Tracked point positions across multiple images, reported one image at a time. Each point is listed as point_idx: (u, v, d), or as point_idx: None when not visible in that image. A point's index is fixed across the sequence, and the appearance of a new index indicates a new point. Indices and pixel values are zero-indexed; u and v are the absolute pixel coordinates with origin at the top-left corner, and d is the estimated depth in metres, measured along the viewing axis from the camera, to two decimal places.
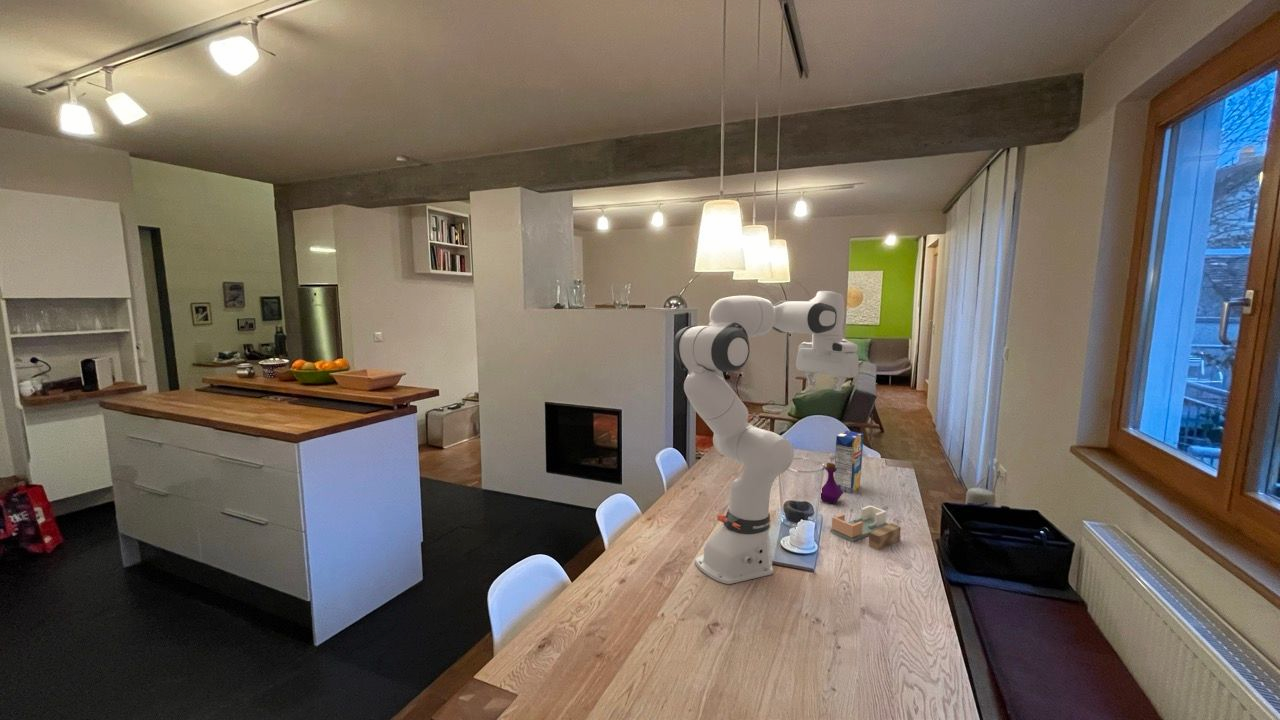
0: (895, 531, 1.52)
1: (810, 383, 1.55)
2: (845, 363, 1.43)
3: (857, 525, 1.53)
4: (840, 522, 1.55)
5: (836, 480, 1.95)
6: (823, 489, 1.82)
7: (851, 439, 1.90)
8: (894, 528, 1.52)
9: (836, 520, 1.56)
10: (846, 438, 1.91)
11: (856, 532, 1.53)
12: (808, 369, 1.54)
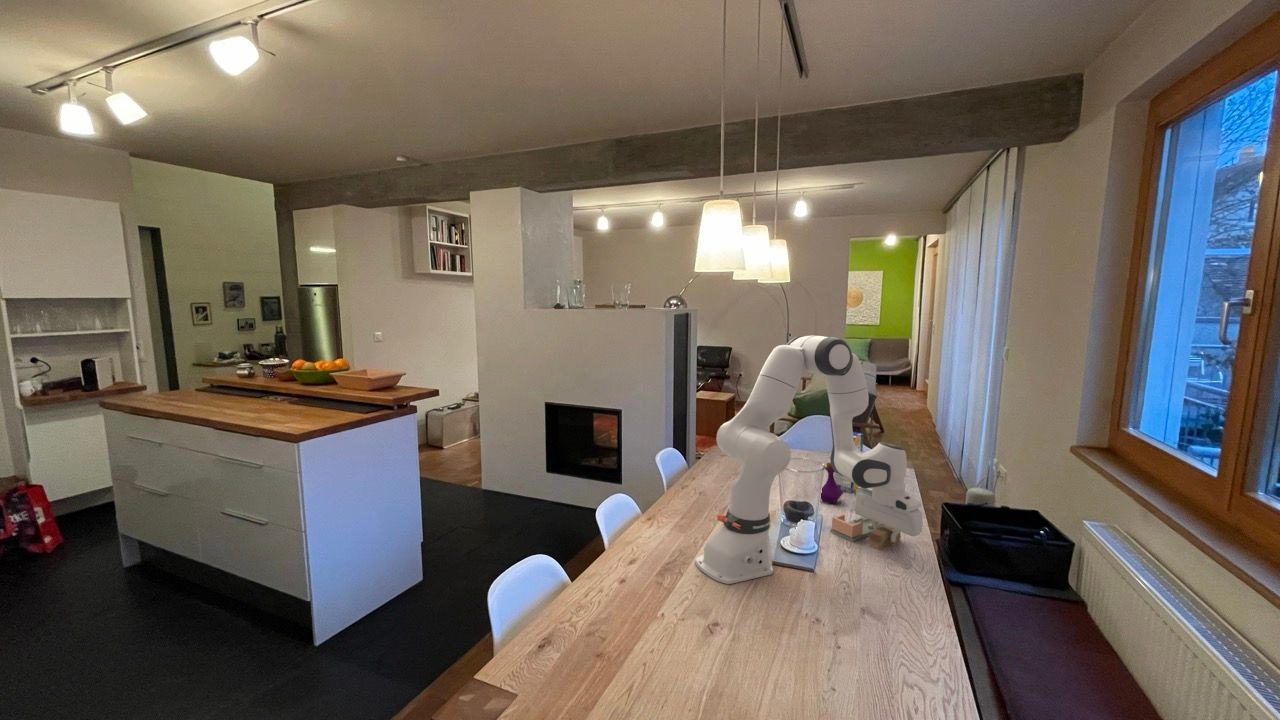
0: None
1: None
2: (909, 522, 1.43)
3: (857, 525, 1.53)
4: (840, 522, 1.55)
5: (836, 480, 1.95)
6: (823, 489, 1.82)
7: None
8: None
9: (836, 520, 1.56)
10: None
11: (856, 532, 1.53)
12: (867, 516, 1.54)
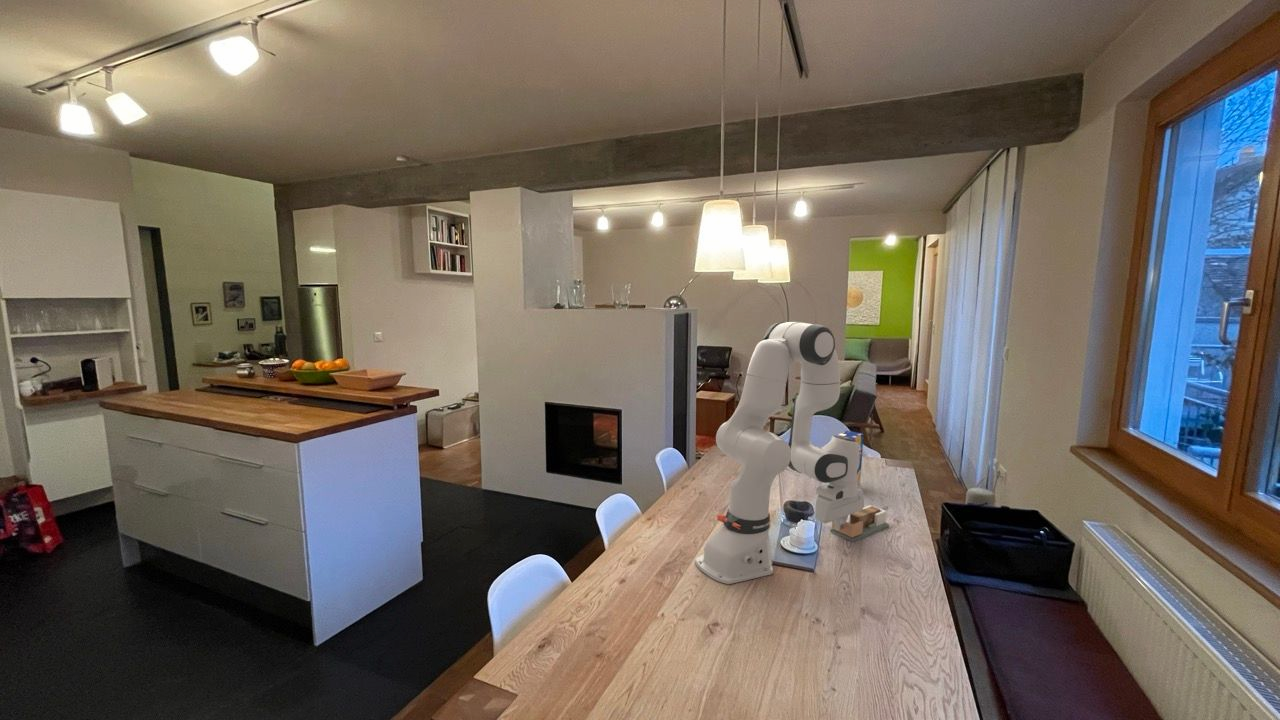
0: (875, 513, 1.62)
1: None
2: None
3: (857, 525, 1.53)
4: None
5: None
6: None
7: None
8: (874, 510, 1.62)
9: None
10: None
11: (856, 532, 1.53)
12: None
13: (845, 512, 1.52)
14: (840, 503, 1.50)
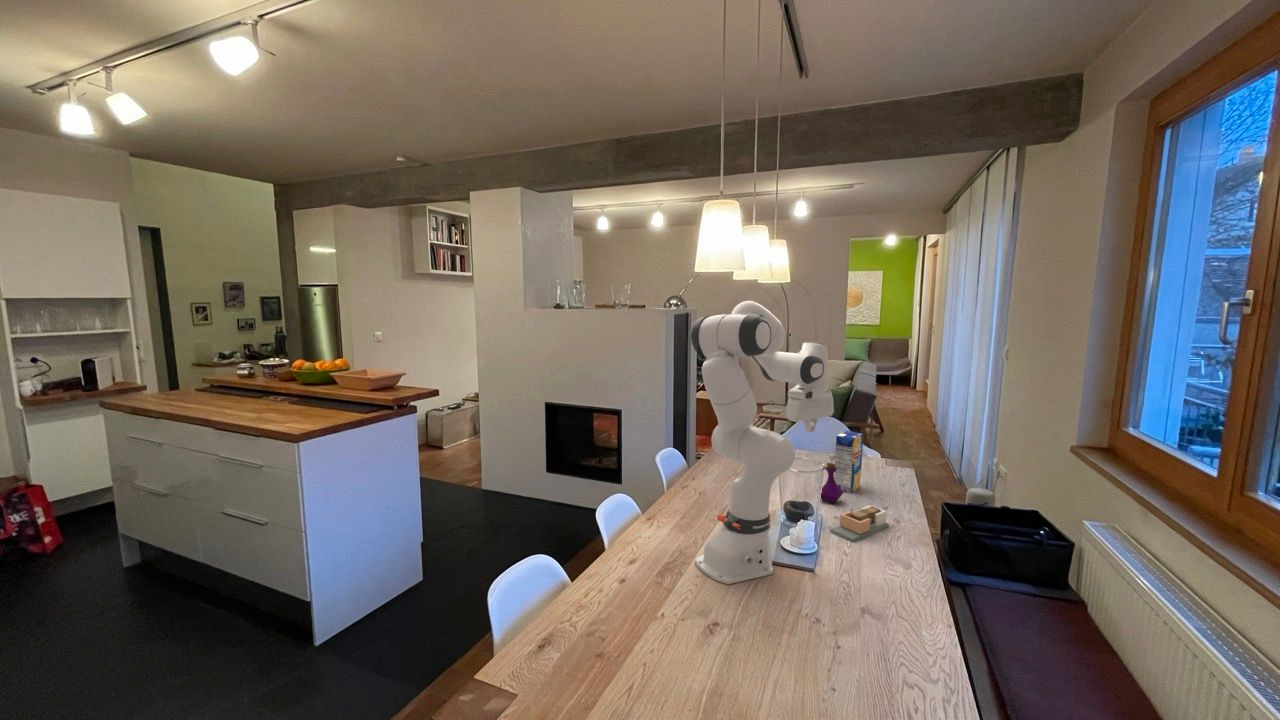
0: (875, 513, 1.62)
1: None
2: None
3: (865, 522, 1.55)
4: (848, 519, 1.57)
5: (836, 480, 1.95)
6: (823, 489, 1.82)
7: (851, 439, 1.90)
8: (874, 510, 1.62)
9: (844, 517, 1.59)
10: (846, 438, 1.91)
11: (864, 529, 1.55)
12: None
13: (815, 414, 1.61)
14: (810, 405, 1.60)
